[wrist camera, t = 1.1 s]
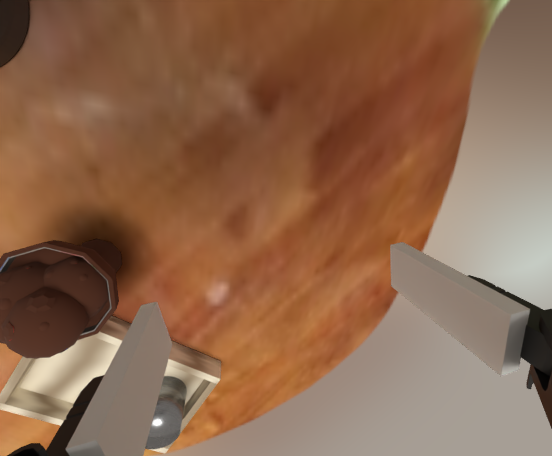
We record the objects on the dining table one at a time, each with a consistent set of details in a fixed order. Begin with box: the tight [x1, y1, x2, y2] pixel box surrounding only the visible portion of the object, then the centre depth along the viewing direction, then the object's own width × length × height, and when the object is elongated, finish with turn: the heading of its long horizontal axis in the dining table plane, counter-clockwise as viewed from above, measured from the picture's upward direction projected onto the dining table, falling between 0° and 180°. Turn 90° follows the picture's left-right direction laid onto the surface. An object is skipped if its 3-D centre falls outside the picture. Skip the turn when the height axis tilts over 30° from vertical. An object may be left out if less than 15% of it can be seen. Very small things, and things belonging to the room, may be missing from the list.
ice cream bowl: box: [0, 239, 122, 359], centre depth 27 cm, size 11×11×15 cm
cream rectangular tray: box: [0, 316, 221, 453], centre depth 37 cm, size 24×16×4 cm, turn 54°
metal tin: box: [145, 376, 187, 449], centre depth 37 cm, size 6×6×6 cm
